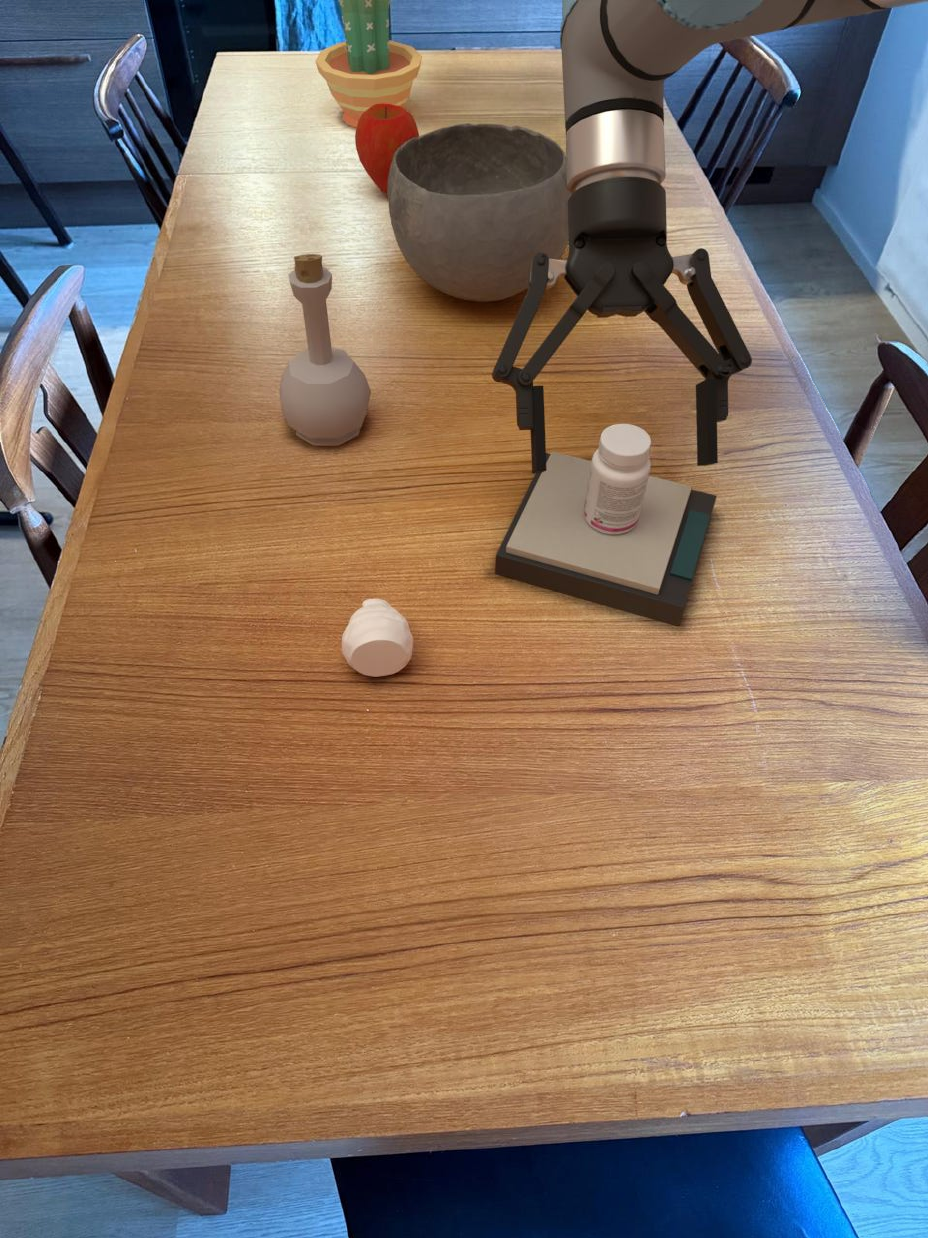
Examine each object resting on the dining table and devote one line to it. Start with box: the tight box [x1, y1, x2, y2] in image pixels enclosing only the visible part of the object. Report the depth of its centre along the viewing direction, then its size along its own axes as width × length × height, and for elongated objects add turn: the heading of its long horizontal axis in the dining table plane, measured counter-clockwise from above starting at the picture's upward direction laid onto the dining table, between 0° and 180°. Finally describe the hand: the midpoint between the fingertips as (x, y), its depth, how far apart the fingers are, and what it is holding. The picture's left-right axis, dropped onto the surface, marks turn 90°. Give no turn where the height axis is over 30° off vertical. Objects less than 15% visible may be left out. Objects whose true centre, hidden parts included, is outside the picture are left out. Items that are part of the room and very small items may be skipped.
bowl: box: [386, 122, 572, 303], centre depth 100 cm, size 20×20×15 cm
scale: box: [494, 451, 718, 627], centre depth 78 cm, size 16×14×3 cm
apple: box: [354, 103, 420, 195], centre depth 116 cm, size 9×8×11 cm
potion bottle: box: [279, 253, 372, 447], centre depth 82 cm, size 9×9×18 cm
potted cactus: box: [315, 0, 423, 128], centre depth 126 cm, size 15×15×25 cm
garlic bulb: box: [341, 597, 414, 678], centre depth 69 cm, size 6×6×6 cm
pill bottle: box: [584, 423, 652, 534], centre depth 73 cm, size 5×5×8 cm
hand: (623, 468), depth 71 cm, fingers open, 13 cm apart
